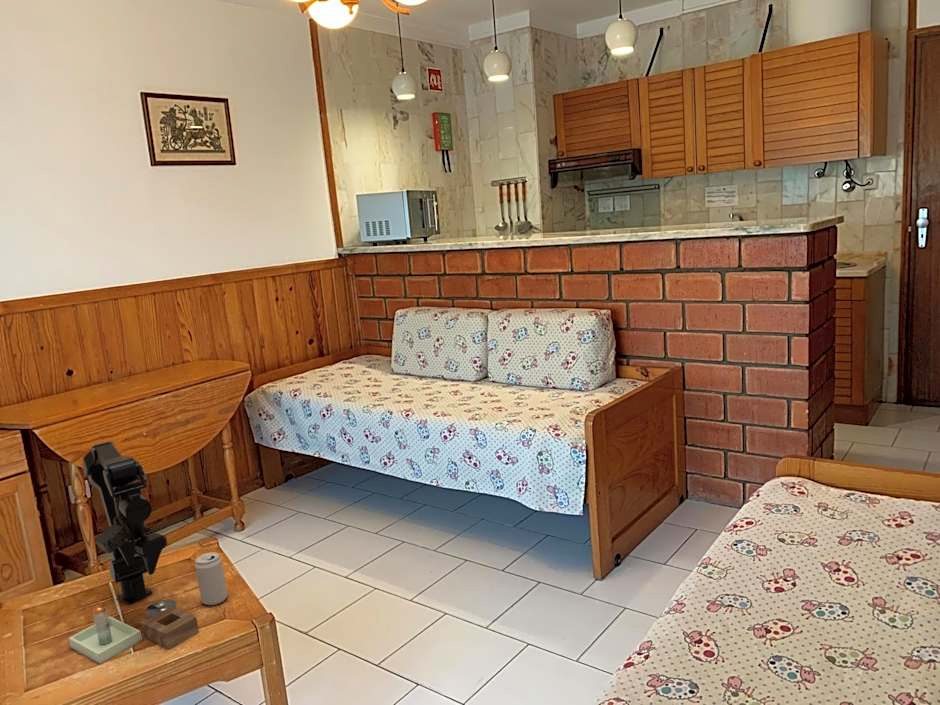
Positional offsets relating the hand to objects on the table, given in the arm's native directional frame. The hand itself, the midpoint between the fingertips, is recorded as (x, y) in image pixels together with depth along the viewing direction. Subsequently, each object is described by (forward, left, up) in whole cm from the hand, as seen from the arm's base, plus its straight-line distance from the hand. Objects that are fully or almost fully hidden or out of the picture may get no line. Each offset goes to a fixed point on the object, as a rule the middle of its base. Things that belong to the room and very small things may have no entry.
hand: (141, 569), depth 182 cm
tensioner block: (+12, -2, -13) cm, 18 cm away
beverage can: (+8, +13, -13) cm, 20 cm away
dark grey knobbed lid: (+2, +2, -13) cm, 13 cm away
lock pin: (+1, -12, -12) cm, 17 cm away
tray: (+1, -12, -13) cm, 18 cm away
